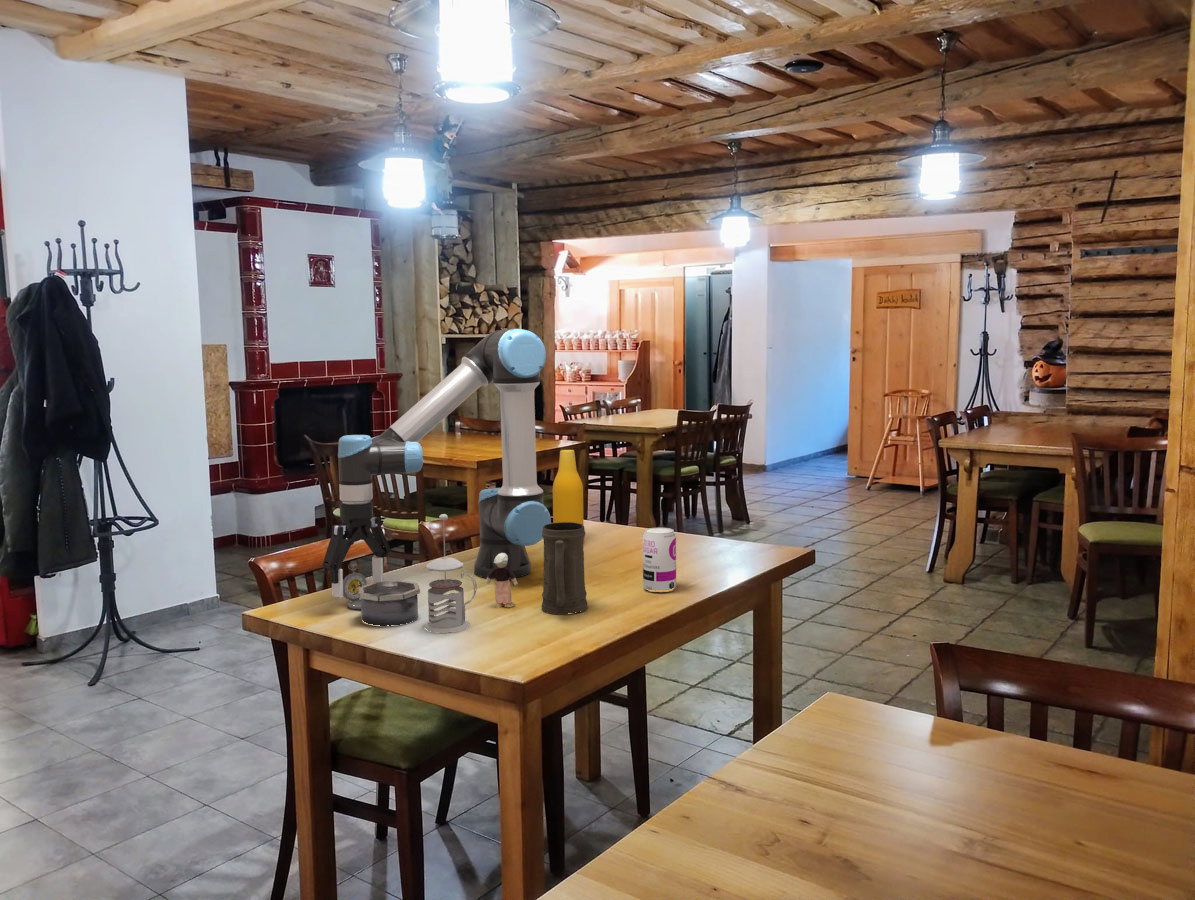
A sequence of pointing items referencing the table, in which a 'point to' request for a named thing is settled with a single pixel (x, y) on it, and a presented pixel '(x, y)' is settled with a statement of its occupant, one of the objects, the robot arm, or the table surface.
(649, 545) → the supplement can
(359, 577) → the pocket watch
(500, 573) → the grandmother figurine
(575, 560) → the beer stein
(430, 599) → the french press
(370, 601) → the grey octagonal rimmed bowl
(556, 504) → the beer bottle
